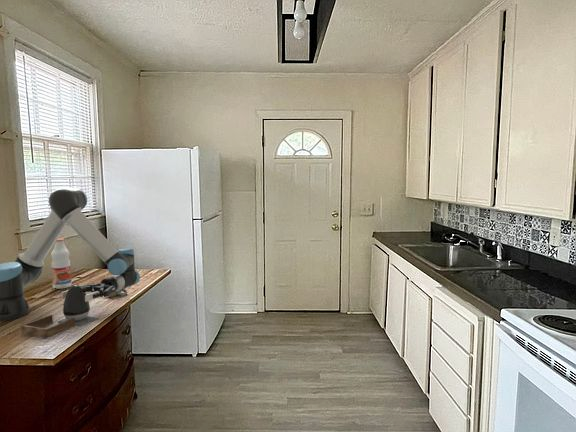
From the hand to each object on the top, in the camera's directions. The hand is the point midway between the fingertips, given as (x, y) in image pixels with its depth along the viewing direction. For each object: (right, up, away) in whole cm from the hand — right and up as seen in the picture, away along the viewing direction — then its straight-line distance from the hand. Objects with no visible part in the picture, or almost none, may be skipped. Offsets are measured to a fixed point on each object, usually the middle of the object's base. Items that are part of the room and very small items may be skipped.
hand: (73, 296), depth 161 cm
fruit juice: (-39, -7, +56) cm, 69 cm away
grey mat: (0, -11, +3) cm, 11 cm away
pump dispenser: (0, -11, +3) cm, 11 cm away
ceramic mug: (0, -8, +40) cm, 41 cm away
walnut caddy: (-5, -12, -8) cm, 15 cm away
